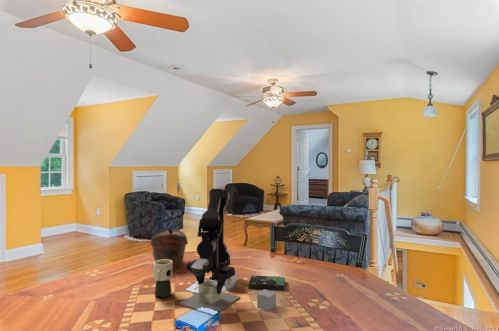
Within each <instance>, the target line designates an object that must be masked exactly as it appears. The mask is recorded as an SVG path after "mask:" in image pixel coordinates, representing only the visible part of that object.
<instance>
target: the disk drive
mask: <svg viewBox="0 0 499 331" xmlns="http://www.w3.org/2000/svg"><path fill="white" fill-rule="evenodd" d="M285 288H286V277H284V276H273V275H272V276H271V275H256V274H255V275H253V274H252V275H251V276H250V278H249V282H248V290H257V291H259V290H260V291H262V290H264V289H265V290H269V291H275V292H276V291H277V292H279V291H280V292H285Z"/></svg>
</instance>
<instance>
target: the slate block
mask: <svg viewBox="0 0 499 331" xmlns="http://www.w3.org/2000/svg"><path fill="white" fill-rule="evenodd" d="M256 295H257V296H256V299H257V300H256V304H257V305H256V306H257V307H256V308H257V309H260V310H264V311H267V312H271V311H272V310H273V309H274V308H276V306H277V292H276V291H275V290H265V289H264V290H260V291H259V292H257V294H256Z"/></svg>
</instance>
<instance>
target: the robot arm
mask: <svg viewBox="0 0 499 331" xmlns="http://www.w3.org/2000/svg"><path fill="white" fill-rule="evenodd" d="M208 194H209V195H208V200H209V202H208V204H207V206H208V207H207V210H206V211H205V212H203V213H202V216H201V218H199V223H198V231H197V238H198V237H199V238H201V241H200V242H199V243H198V245H197V247H196V252H197V255H198V256H199V259H194V260H191V261H188V262H187V264H186V271H187V272H190V274H192V275H193V276H195V279H196V280H197V284H198V285H199V284H201V283H203V282H205V281H206V280H205V279H206V278H205V277H206V274H209V273H210V272H211V276H210V277H209V280H213V281H217V293H218V295H219V294H220V293H221V291H222V292H223V288H224V287H225V282H226V280H227V279H228V278H230V277H232V276H234V275H235V273H236V269H235V268H234V266H230V265H231V256H230V252H229V251H228V246H227V245H226V243H225V209H226V207H227V206H228V204H229V200H230V192H229V190H227V189H226V188H225V189H223V188H211V189H210V190H209V192H208Z"/></svg>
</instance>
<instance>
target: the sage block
mask: <svg viewBox="0 0 499 331" xmlns="http://www.w3.org/2000/svg"><path fill="white" fill-rule="evenodd" d="M222 292H223V290H222V291H221V293H220V294H219V295H218V293H217V280H212V279H207V280H204V282H203V283H201V284H198V293H199V301H200V302H204V303H207V304H211V305H212V304H214V303H215V302H217V301H219V300H220V299H222Z"/></svg>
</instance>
